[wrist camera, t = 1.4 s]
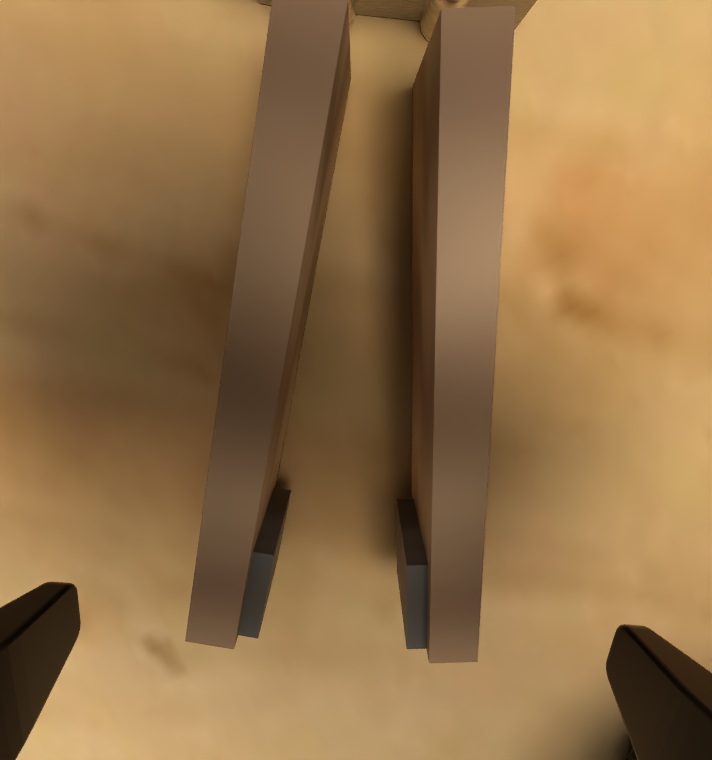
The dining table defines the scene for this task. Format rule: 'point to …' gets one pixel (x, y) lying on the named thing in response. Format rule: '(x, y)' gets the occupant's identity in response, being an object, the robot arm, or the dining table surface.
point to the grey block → (425, 9)
